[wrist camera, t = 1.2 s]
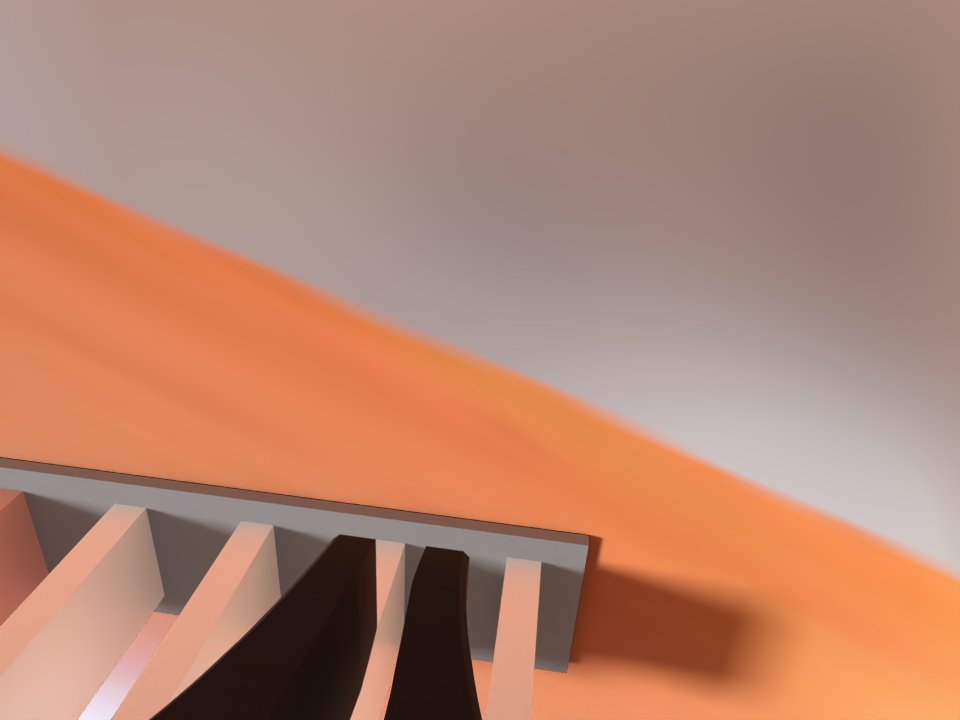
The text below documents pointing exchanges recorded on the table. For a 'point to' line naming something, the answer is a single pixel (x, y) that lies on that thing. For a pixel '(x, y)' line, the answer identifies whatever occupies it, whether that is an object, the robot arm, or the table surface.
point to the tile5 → (17, 553)
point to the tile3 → (210, 620)
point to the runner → (305, 542)
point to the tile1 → (515, 643)
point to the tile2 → (384, 629)
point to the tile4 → (80, 620)
